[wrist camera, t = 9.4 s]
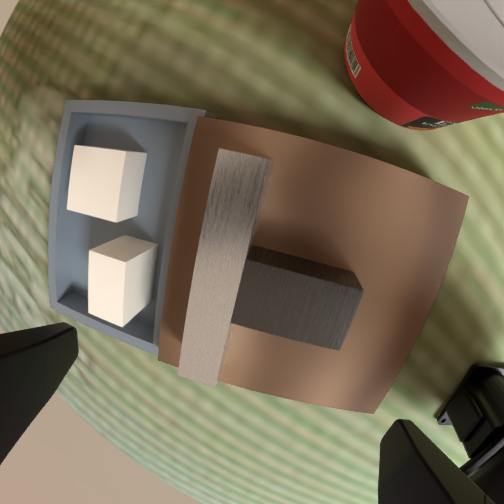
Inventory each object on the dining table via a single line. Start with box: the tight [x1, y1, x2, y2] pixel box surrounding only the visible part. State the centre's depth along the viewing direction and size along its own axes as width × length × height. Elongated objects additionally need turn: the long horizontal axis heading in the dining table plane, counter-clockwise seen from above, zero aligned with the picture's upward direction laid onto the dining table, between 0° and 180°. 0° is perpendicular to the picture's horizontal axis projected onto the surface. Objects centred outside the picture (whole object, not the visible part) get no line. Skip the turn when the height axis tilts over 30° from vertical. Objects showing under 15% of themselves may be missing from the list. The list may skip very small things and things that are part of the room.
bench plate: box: [158, 116, 469, 414], centre depth 16 cm, size 14×14×4 cm
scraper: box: [178, 148, 364, 388], centre depth 14 cm, size 2×11×7 cm
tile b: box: [88, 235, 158, 327], centre depth 17 cm, size 4×4×2 cm
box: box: [48, 100, 219, 355], centre depth 18 cm, size 10×15×2 cm, turn 167°
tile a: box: [67, 145, 147, 222], centre depth 17 cm, size 4×4×2 cm
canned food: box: [344, 0, 504, 130], centre depth 9 cm, size 8×8×11 cm
